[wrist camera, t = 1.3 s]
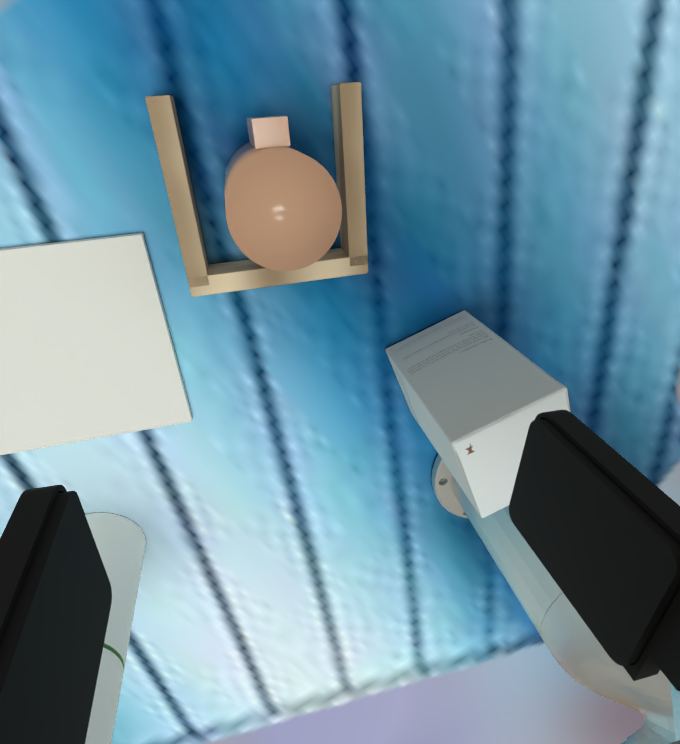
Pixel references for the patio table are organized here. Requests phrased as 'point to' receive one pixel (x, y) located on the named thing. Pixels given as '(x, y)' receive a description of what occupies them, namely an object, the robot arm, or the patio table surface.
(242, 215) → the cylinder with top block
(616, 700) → the robot arm
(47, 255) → the mat
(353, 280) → the patio table surface
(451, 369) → the supplement box
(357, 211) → the cradle
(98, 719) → the cylindrical container
